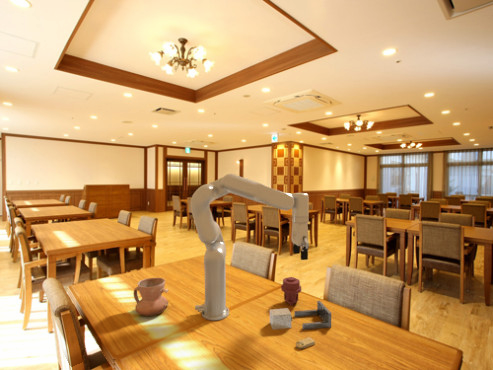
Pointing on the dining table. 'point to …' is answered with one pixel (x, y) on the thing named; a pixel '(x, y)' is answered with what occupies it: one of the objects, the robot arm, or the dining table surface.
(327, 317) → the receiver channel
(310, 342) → the brass key tag
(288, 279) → the mechanical component
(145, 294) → the ceramic jug
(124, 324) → the dining table surface
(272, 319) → the aluminium block
